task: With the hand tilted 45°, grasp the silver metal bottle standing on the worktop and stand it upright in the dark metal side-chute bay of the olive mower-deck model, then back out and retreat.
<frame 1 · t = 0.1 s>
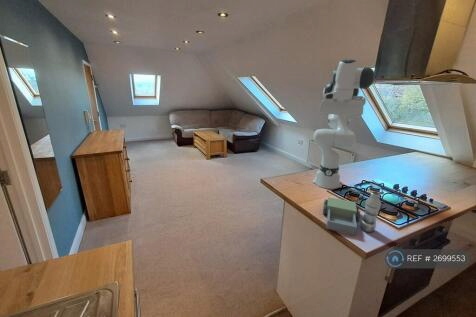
hand: (338, 123, 113), 48 cm above the worktop, tool pointing down, fingers open, 8 cm apart
silver metal bottle: (366, 229, 108), on the worktop
mower deck: (340, 221, 114), on the worktop
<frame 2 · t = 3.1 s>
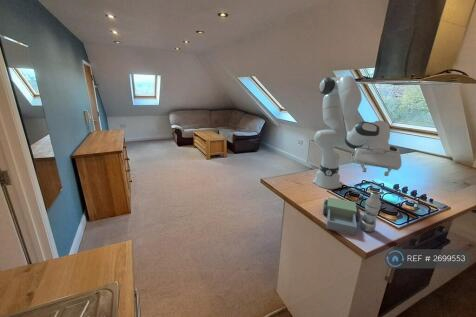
hand: (375, 173, 109), 26 cm above the worktop, tool tilted 45°, fingers open, 8 cm apart
nothing on the worktop moved.
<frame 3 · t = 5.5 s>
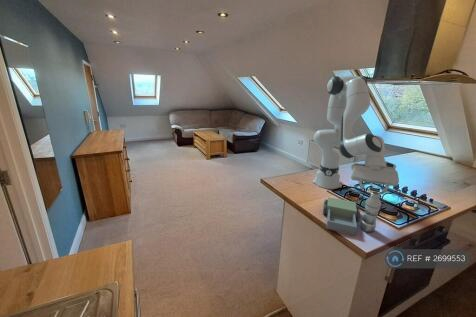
hand: (373, 190, 108), 18 cm above the worktop, tool tilted 45°, fingers open, 8 cm apart
nothing on the worktop moved.
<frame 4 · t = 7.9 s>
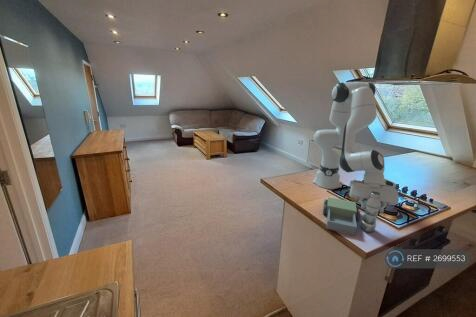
hand: (372, 210, 104), 11 cm above the worktop, tool tilted 45°, fingers closed on silver metal bottle, 6 cm apart
silver metal bottle: (366, 229, 108), on the worktop, touching gripper
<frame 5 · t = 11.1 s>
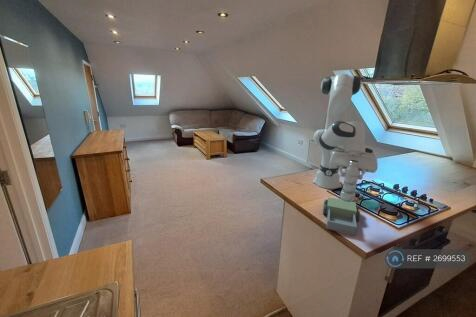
hand: (351, 177, 102), 26 cm above the worktop, tool tilted 45°, fingers closed on silver metal bottle, 6 cm apart
silver metal bottle: (346, 200, 107), point 14 cm above the worktop, touching gripper
when the fingers open (14 cm above the worktop, at t = 14.8 s): silver metal bottle stays where it is, resting on mower deck.
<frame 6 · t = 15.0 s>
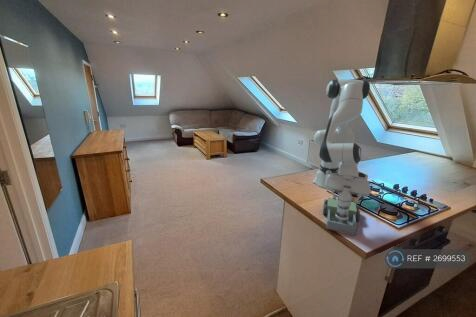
hand: (345, 201, 107), 14 cm above the worktop, tool tilted 45°, fingers open, 8 cm apart
silver metal bottle: (340, 223, 112), point 1 cm above the worktop, touching mower deck
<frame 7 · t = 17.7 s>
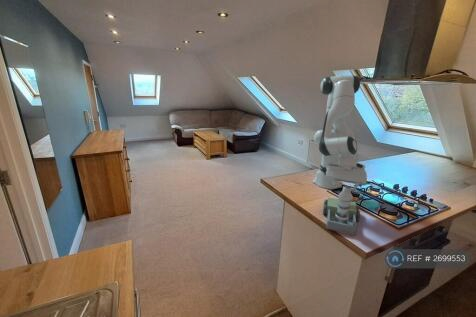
hand: (344, 189, 118), 14 cm above the worktop, tool tilted 45°, fingers open, 8 cm apart
nothing on the worktop moved.
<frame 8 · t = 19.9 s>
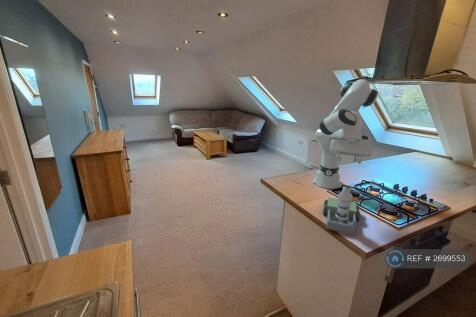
hand: (349, 161, 114), 29 cm above the worktop, tool tilted 45°, fingers open, 8 cm apart
nothing on the worktop moved.
at the end: silver metal bottle inside the target area on the mower deck (0.1 cm from its centre), point 0.8 cm above the mower deck's base; silver metal bottle tilted 0°; the gripper is holding nothing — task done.
